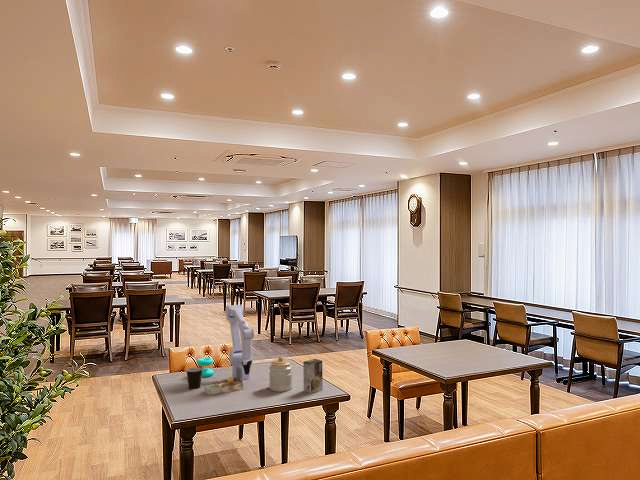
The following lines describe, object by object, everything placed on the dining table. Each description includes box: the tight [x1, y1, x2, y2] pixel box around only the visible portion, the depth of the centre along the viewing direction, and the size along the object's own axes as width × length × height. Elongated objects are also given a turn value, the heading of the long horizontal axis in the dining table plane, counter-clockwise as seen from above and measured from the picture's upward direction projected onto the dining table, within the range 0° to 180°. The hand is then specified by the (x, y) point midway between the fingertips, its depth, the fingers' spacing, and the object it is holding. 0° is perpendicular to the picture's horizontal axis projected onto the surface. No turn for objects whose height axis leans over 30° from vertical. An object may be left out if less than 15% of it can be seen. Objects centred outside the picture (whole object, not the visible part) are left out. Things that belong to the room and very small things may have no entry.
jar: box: [268, 356, 293, 393], centre depth 256 cm, size 13×13×18 cm
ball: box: [227, 376, 234, 383], centre depth 255 cm, size 4×4×4 cm
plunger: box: [234, 367, 242, 382], centre depth 258 cm, size 3×5×7 cm, turn 34°
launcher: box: [215, 378, 244, 394], centre depth 255 cm, size 12×9×4 cm
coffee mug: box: [186, 367, 203, 390], centre depth 259 cm, size 12×9×10 cm
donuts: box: [196, 357, 214, 378], centre depth 281 cm, size 10×10×10 cm
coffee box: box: [302, 358, 324, 394], centre depth 253 cm, size 9×6×16 cm
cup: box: [204, 383, 222, 396], centre depth 249 cm, size 6×7×3 cm
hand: (247, 374), depth 261 cm, fingers closed
